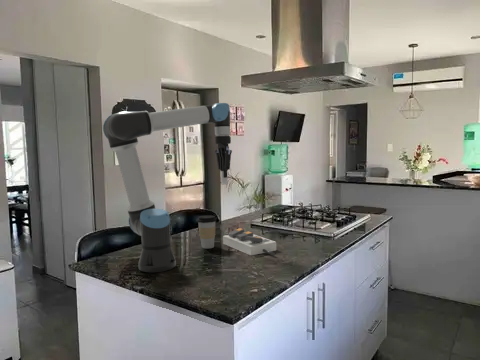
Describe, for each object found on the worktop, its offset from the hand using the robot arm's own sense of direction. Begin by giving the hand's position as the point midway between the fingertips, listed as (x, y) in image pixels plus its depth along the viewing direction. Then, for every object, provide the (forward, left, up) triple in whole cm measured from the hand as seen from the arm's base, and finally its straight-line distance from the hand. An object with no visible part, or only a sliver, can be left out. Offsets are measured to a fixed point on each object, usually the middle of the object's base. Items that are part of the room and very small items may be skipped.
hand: (224, 184), depth 190 cm
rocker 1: (+5, -2, -25) cm, 25 cm away
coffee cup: (-9, +2, -31) cm, 32 cm away
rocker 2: (+5, -10, -25) cm, 27 cm away
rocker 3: (+5, -18, -25) cm, 31 cm away
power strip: (+7, -14, -30) cm, 34 cm away
